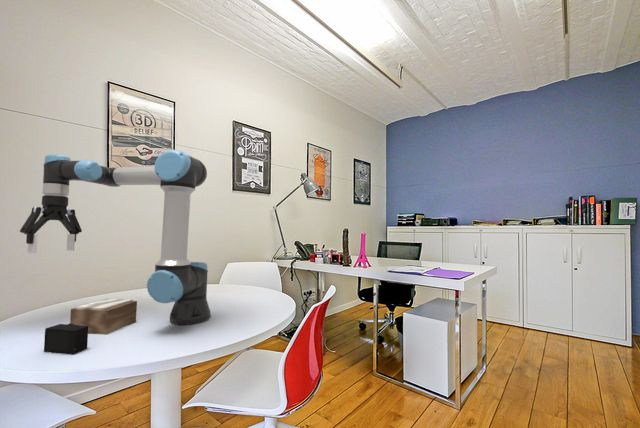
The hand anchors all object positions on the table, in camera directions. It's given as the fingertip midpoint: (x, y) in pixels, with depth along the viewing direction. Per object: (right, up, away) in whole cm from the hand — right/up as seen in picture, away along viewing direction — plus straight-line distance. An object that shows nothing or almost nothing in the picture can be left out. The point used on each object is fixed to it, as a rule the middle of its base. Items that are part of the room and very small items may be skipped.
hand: (52, 251), depth 111 cm
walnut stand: (+22, -27, -3) cm, 35 cm away
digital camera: (+26, -27, -23) cm, 44 cm away
